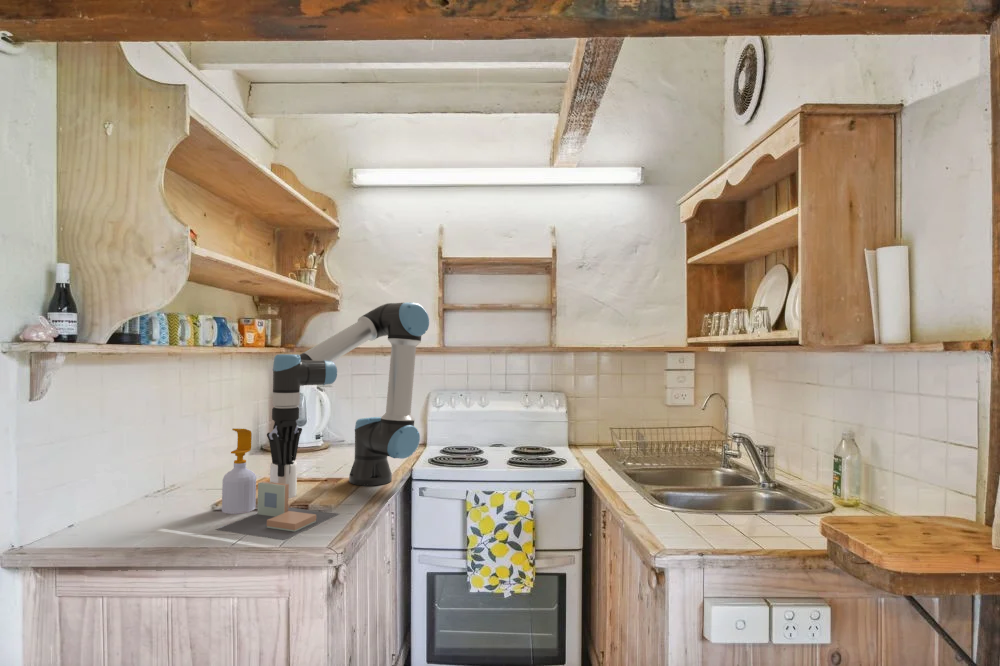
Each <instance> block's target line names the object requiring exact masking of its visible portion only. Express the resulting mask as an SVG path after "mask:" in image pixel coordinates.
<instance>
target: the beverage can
mask: <svg viewBox="0 0 1000 666" xmlns="http://www.w3.org/2000/svg"><path fill="white" fill-rule="evenodd" d="M292 462H294V463H293V464H290V474H289V497H288V499H292V498H295V497H296V496H297V490H298V489H297V488H298V487H297V482H298V480H297V479H298V463H297V461H296V460H295V461H292ZM269 467H270V469H269V475H270V476H269V482H274V483H278V465H275V464H273V463H272V462H271V463H270V464H269Z"/></svg>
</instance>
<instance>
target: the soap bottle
mask: <svg viewBox="0 0 1000 666" xmlns="http://www.w3.org/2000/svg"><path fill="white" fill-rule="evenodd" d="M231 431H234V432H236V433H237V447H236V449H234V450H232V451H230V454H234V456H236V460H234V461H233V468H232V469H231V470H230V471H228V472H227V473H225V474H224V476H223V478H222V487H221V488H222V492H221V494H222V495H221V496H222V497H221V498H222V499H221V512H222V513H223V514H224V513H225V514H230V515H231V514H232V515H233V514H234V515H235V514H243V513H244V514H245V513H249V512H251V511H255V509H256V503H257V502H256V500H257V497H256V496H257V474H256V473H255V472H254V471H253V470H251V469H248V468H247V460H246V459H244V456H246V454H247V453H249V452H250V451H251V449H252V431H251V430H249V429H247V428H232V430H231Z"/></svg>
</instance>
